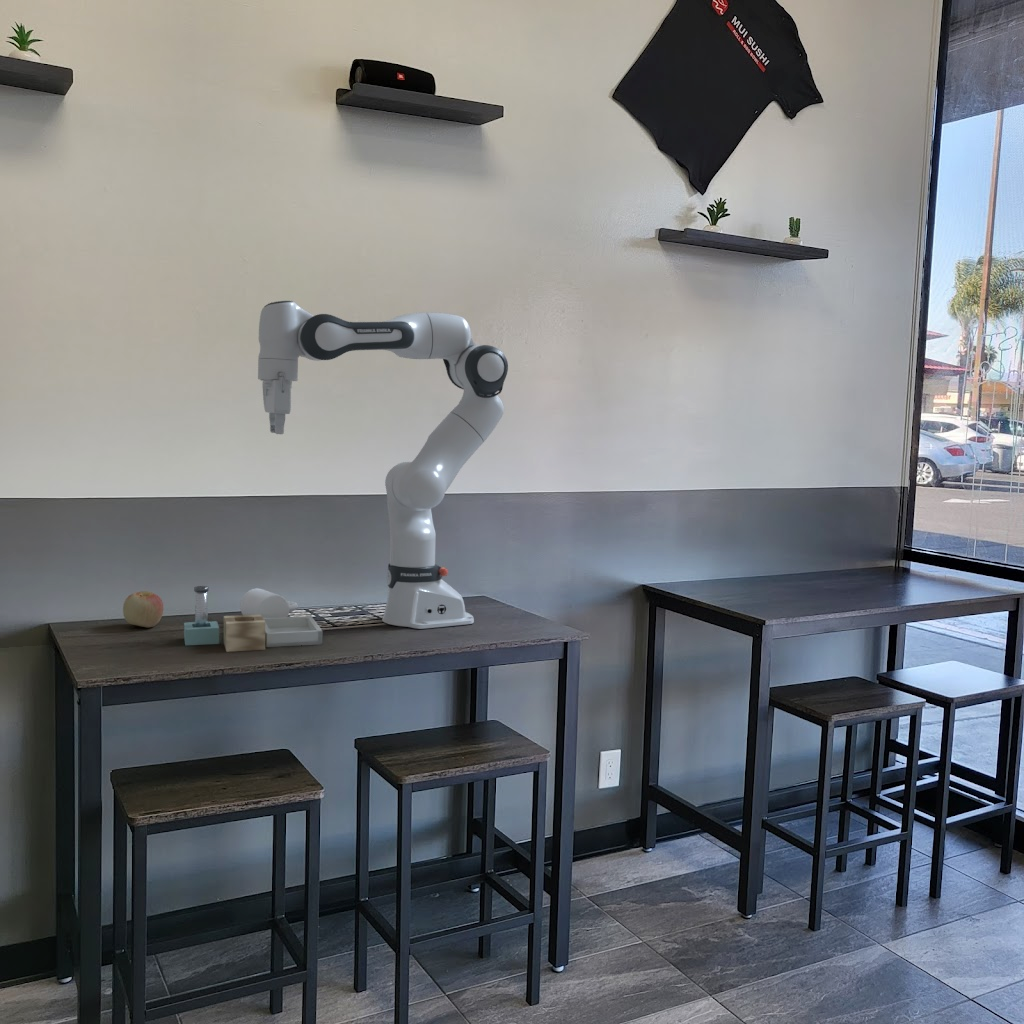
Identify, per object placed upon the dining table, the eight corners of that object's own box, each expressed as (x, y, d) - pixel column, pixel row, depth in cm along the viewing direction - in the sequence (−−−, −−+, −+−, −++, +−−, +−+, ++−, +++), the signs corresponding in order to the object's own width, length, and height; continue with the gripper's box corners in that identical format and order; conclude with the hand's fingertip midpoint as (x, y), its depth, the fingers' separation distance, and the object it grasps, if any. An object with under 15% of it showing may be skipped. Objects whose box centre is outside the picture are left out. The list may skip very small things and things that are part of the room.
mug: (258, 630, 231) (258, 596, 230) (239, 622, 239) (239, 589, 238) (304, 624, 239) (305, 591, 238) (285, 616, 246) (285, 585, 245)
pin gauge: (208, 639, 221) (208, 585, 219) (208, 642, 218) (208, 588, 217) (194, 639, 220) (193, 586, 218) (194, 642, 217) (194, 588, 216)
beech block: (261, 641, 220) (261, 614, 220) (265, 649, 213) (265, 622, 212) (223, 642, 217) (223, 616, 217) (226, 651, 210) (226, 623, 209)
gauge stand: (216, 636, 223) (216, 621, 223) (219, 643, 217) (219, 627, 216) (184, 638, 221) (184, 622, 220) (185, 645, 214) (185, 629, 214)
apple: (146, 621, 236) (145, 588, 236) (171, 626, 232) (171, 592, 231) (114, 627, 229) (114, 593, 228) (140, 633, 224) (140, 598, 224)
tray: (311, 628, 234) (311, 616, 234) (322, 644, 219) (322, 631, 219) (258, 631, 230) (258, 618, 229) (266, 647, 215) (266, 633, 214)
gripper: (298, 372, 218) (296, 435, 220) (286, 374, 237) (285, 432, 239) (268, 370, 216) (267, 434, 217) (259, 373, 235) (258, 431, 236)
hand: (276, 433), depth 228 cm, fingers open, 8 cm apart
